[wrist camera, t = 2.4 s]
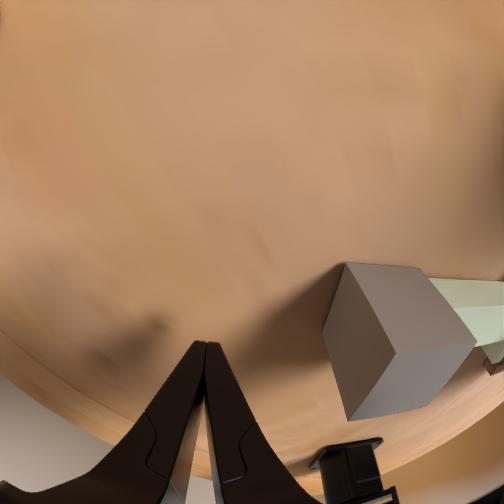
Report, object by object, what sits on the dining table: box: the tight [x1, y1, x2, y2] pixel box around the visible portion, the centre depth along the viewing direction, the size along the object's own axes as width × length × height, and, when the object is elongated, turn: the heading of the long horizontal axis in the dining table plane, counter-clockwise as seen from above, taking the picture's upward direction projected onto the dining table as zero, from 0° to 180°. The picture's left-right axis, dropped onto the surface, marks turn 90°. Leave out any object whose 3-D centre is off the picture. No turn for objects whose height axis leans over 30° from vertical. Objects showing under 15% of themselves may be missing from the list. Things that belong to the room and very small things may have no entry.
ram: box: [322, 262, 504, 422], centre depth 11 cm, size 8×15×5 cm, turn 83°
